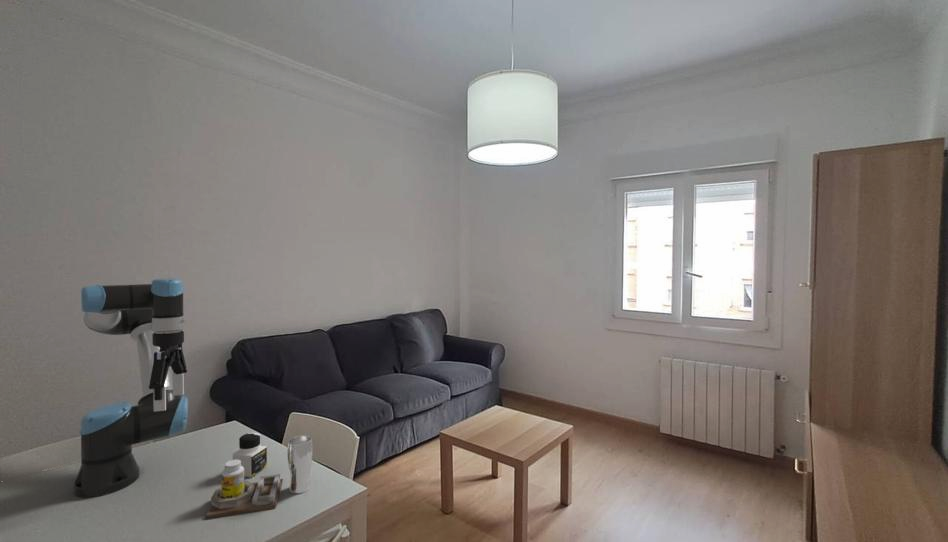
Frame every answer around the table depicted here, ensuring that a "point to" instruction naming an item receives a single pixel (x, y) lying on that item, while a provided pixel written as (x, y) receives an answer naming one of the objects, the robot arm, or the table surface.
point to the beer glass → (300, 463)
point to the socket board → (246, 505)
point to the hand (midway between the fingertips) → (169, 402)
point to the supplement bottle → (232, 479)
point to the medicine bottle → (251, 454)
